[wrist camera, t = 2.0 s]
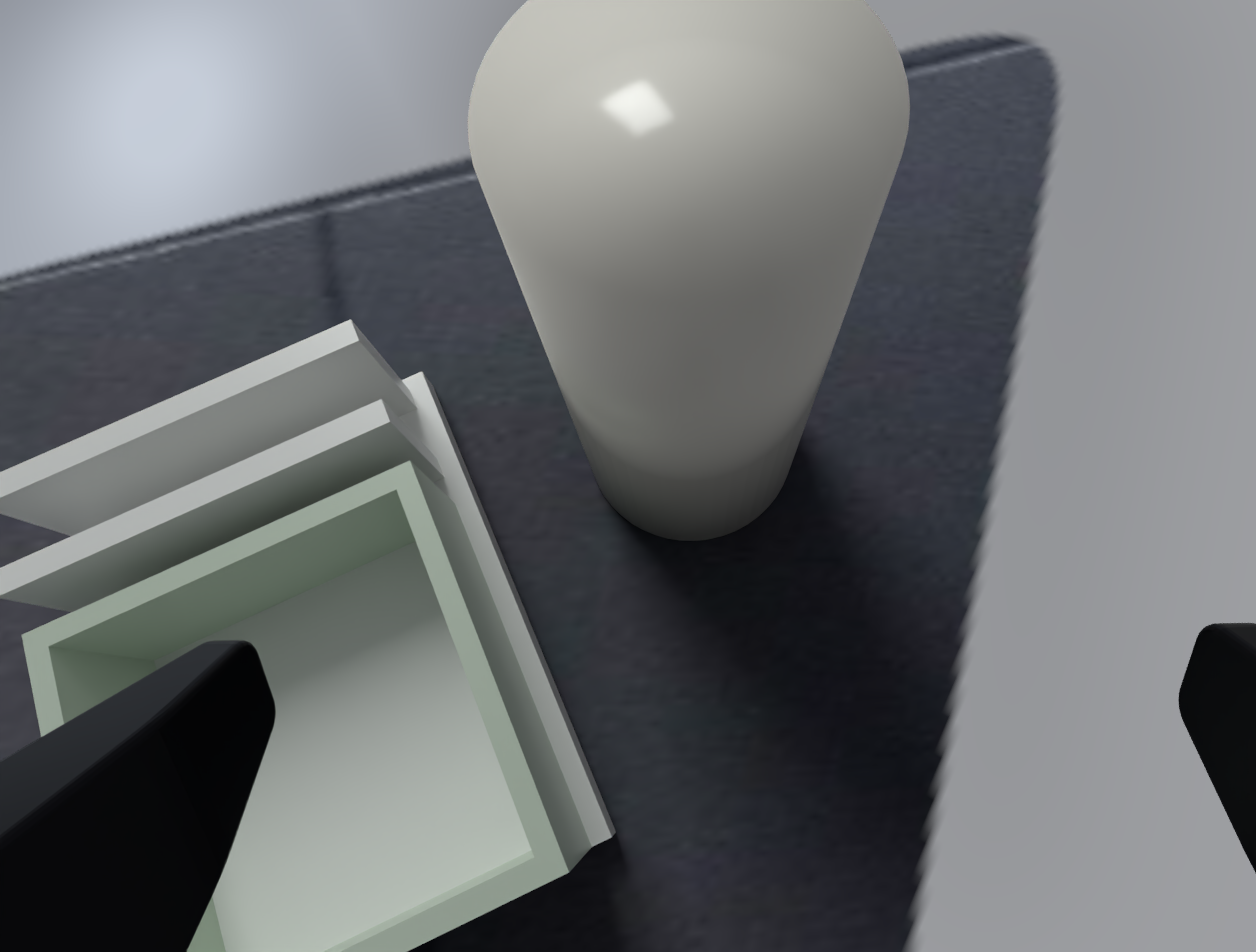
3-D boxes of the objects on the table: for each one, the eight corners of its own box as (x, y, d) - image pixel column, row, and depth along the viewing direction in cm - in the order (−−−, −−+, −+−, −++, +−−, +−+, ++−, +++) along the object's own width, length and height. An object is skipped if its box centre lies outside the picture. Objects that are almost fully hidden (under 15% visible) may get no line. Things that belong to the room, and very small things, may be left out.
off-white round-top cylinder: (718, 582, 21) (749, 380, 9) (549, 467, 22) (379, 160, 10) (831, 415, 22) (992, 41, 10) (664, 316, 23) (632, -117, 11)
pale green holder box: (615, 832, 19) (590, 864, 14) (224, 1022, 19) (63, 1122, 14) (433, 385, 23) (365, 296, 18) (106, 531, 23) (-50, 477, 18)
